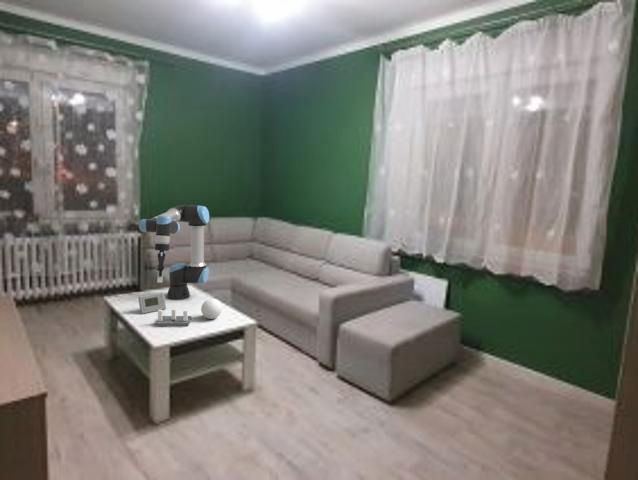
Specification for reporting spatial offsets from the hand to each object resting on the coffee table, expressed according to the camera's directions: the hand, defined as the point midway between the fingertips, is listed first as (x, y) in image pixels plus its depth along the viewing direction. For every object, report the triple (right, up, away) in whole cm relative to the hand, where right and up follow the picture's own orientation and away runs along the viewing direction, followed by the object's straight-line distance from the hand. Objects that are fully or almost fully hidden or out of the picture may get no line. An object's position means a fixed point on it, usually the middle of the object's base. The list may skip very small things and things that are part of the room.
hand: (159, 281), depth 233 cm
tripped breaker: (+4, -23, +10) cm, 25 cm away
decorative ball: (+24, -25, +20) cm, 40 cm away
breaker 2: (+12, -23, +8) cm, 28 cm away
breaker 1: (-2, -23, +6) cm, 24 cm away
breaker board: (+4, -25, +10) cm, 28 cm away
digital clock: (-15, -22, +28) cm, 39 cm away
